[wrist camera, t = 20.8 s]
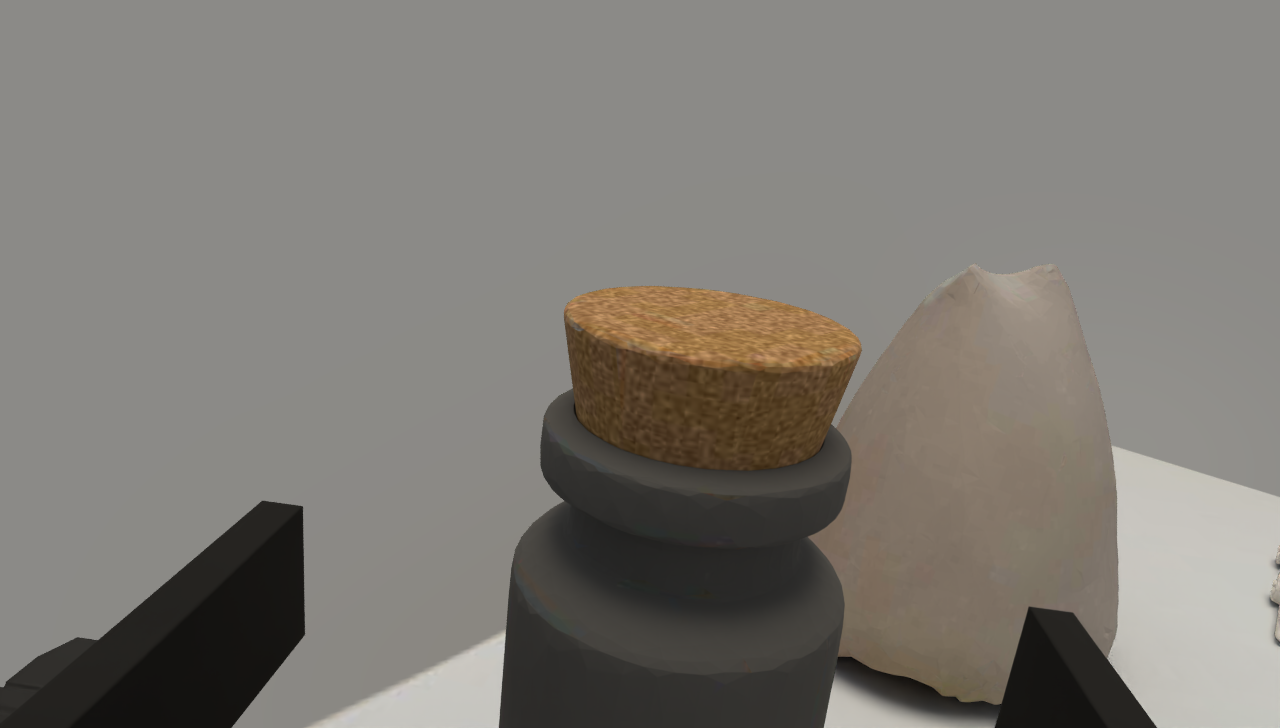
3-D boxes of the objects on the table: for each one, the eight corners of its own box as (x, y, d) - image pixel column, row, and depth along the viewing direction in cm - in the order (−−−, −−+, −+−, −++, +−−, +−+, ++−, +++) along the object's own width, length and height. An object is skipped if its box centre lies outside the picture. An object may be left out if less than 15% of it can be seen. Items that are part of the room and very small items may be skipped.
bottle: (817, 1068, 17) (984, 359, 12) (552, 1244, 14) (649, 392, 9) (664, 844, 21) (746, 275, 17) (442, 938, 18) (472, 278, 14)
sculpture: (910, 528, 42) (976, 233, 38) (1154, 662, 33) (1280, 293, 28) (717, 589, 34) (772, 231, 30) (964, 784, 25) (1094, 312, 21)
